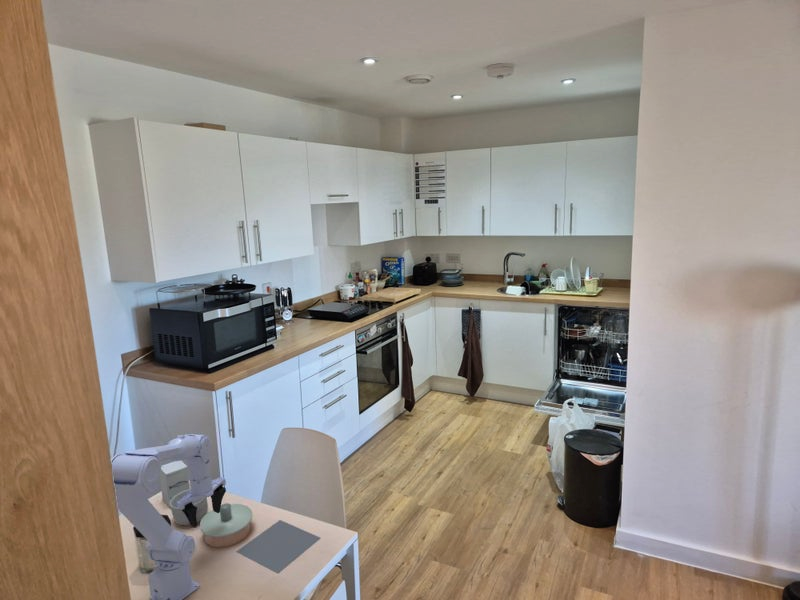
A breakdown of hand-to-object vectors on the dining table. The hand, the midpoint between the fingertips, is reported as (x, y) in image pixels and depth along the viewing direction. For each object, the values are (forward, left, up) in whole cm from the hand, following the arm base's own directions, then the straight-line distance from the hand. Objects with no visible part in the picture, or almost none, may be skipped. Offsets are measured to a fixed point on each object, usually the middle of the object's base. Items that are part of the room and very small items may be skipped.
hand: (205, 518), depth 146 cm
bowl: (+8, +2, -10) cm, 13 cm away
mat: (+12, -16, -10) cm, 23 cm away
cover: (+8, +2, -6) cm, 10 cm away
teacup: (+8, +19, -11) cm, 23 cm away
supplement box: (+11, +32, -11) cm, 35 cm away
